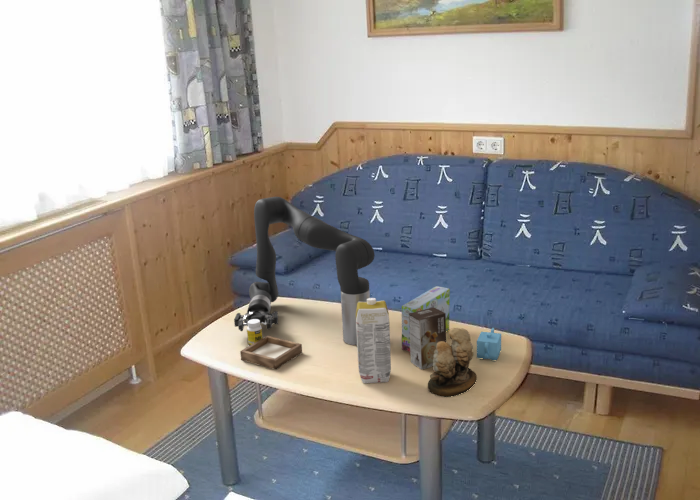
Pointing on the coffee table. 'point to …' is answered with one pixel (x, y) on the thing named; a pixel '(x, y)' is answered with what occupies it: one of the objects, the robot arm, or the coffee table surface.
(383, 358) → the juice carton
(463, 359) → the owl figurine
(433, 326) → the coffee box
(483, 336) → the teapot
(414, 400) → the coffee table surface
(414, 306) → the snack box
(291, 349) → the walnut tray
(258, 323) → the supplement bottle
